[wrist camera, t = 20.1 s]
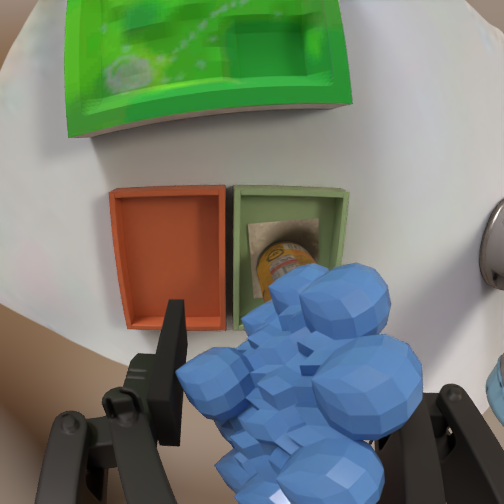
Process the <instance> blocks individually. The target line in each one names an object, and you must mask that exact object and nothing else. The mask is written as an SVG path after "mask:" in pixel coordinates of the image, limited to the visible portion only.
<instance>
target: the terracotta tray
mask: <svg viewBox="0 0 504 504" xmlns="http://www.w3.org/2000/svg"><path fill="white" fill-rule="evenodd" d="M109 203H110V215H111V226H112V235H113V244H114V252H115V260H116V267H117V274H118V281H119V287H120V293H121V299H122V305H123V310H124V315H125V320H126V325H127V329H138V330H161V329H162V325H163V320H164V316H165V312H166V308H167V304H168V300H169V299H184V304H185V318H186V331H207V330H226V284H225V185H186V186H153V187H131V188H117V189H115V190H113V191H111V192H109Z"/></svg>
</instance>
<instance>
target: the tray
mask: <svg viewBox="0 0 504 504" xmlns="http://www.w3.org/2000/svg"><path fill="white" fill-rule="evenodd" d="M64 75H65V102H66V117H67V129H68V138H88V137H94V136H98V135H102V134H106V133H110V132H115V131H119V130H124V129H128V128H133V127H138V126H143V125H148V124H154V123H159V122H165V121H171V120H178V119H184V118H191V117H199V116H207V115H215V114H225V113H235V112H246V111H260V110H278V109H319V108H324V109H334V108H338V107H342V106H346V105H350V104H353V102H352V91H351V82H350V73H349V64H348V57H347V49H346V42H345V36H344V29H343V23H342V18H341V12H340V7H339V1H338V0H68V1H67V12H66V26H65V52H64Z"/></svg>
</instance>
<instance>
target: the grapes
mask: <svg viewBox="0 0 504 504" xmlns="http://www.w3.org/2000/svg"><path fill="white" fill-rule="evenodd" d="M268 288H269V291H270V295H271V298H272V300H270V301H267V302H265V303H264V304H262V305H260V306H258V307H257V308H255V309H253V310H252V311H250V312H249V313H248V314H247V315H245V316H244V317H243V318H242V319H241V320H242V322H243V325H244V328H245V331H246V333H247V336H248V337H247V339H248V341H245V342H244V343H242V344H241V345H240V346H239V347H237V348H236V349H235V348H229V347H213V348H211V349H209V350H207V351H205V352H203V353H201V354H199V355H198V356H196V357H195V358H193V359H191V360H190V361H188V362H187V363H186V364H184V365H183V366H182V367H180V368H179V369H177V370H176V371H175V374H176V376H177V378H178V380H179V382H180V384H181V386H182V388H183V390H184V392H185V394H186V396H187V398H188V400H189V402H190V403H191V404H192V405H193V406H195V408H196V409H197V410H198V411H199V412H200V413H201V414H202V415H203V416H205V417H206V418H207V419H212V420H214V422H215V424H216V426H217V428H218V429H219V431H220V433H221V434H222V436H223V437H224V438H225V439H226V440H227V441H228V442H229V443H230V444H231V445H232V447H233V449H232V450H231V451H230V452H228V453H227V454H226V455H225V456H223V457H222V458H221V459H220V460H219V461H218V462H217V463H216V464H215V465H214V466H215V467H216V469H217V470H218V472H219V474H220V475H221V477H222V478H223V480H224V481H225V483H226V484H227V486H228V487H230V488H231V489H232V490H233V491H234V492H235V493H236V495H235V496H234V497H235V499H236V500H237V501H238V503H239V504H376V503H377V502H378V501H379V499H380V496H381V493H382V490H383V486H384V483H385V478H384V468H383V465H382V462H381V460H380V458H379V457H378V455H377V454H376V452H375V451H374V449H373V448H372V446H371V445H370V444H368V443H367V442H365V441H363V440H379V439H381V438H383V437H385V436H387V435H389V434H391V433H392V432H394V431H396V430H398V429H400V428H402V426H403V425H404V424H405V423H406V422H407V420H408V419H409V418H410V416H411V415H412V413H413V412H414V411H415V409H416V408H417V406H418V405H419V403H420V402H421V400H422V394H423V374H422V364H421V362H420V361H419V359H418V358H417V356H416V355H415V353H414V352H413V351H412V349H411V348H410V346H409V345H408V344H407V343H404V342H402V341H400V340H397V339H395V338H393V337H391V336H388V335H386V334H380V332H381V331H382V330H383V329H384V327H385V326H386V325H387V321H388V317H389V312H390V307H391V301H390V296H389V290H388V285H387V284H386V283H385V281H384V280H383V279H382V277H381V276H380V275H379V273H378V272H377V271H376V270H375V269H373V268H370V267H368V266H365V265H362V264H359V263H353V264H348V265H343V266H338V267H335V268H334V269H332V270H330V271H329V270H328V268H326V267H323V266H320V265H318V264H315V263H312V264H307V265H302V266H298V267H297V268H295V269H293V270H291V271H290V272H288V273H286V274H285V275H283V276H281V277H280V278H278V279H277V280H276V281H275V282H273V283H272V284H271V285H270V286H268Z"/></svg>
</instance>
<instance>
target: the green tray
mask: <svg viewBox="0 0 504 504" xmlns="http://www.w3.org/2000/svg"><path fill="white" fill-rule="evenodd" d="M348 200H349V192H347V191H345V190H343V189H340V188H325V187H303V186H270V185H233V274H232V297H233V329H234V330H245V328H244V325H243V322H242V320H241V319H242V318H243V317H244V316H245V315H247V314H248V313H249V312H250V311H252V310H253V309H255V308H257V307H258V306H260V305H262V304H264V300H263V298H255V299H254V296H253V284H252V271H251V258H250V245H249V232H248V224H254V223H263V222H274V221H286V220H299V219H315V218H319V233H318V235H319V237H318V240H319V243H318V247H319V252H318V265H320V266H323V267H326V268H328V270H329V271H330V270H332V269H334V268H335V267H338V266H341V261H342V254H343V246H344V238H345V229H346V220H347V211H348Z"/></svg>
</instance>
